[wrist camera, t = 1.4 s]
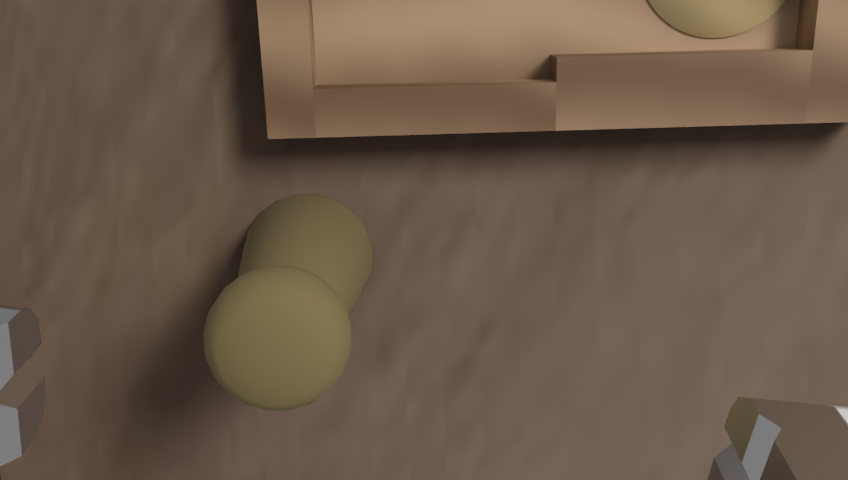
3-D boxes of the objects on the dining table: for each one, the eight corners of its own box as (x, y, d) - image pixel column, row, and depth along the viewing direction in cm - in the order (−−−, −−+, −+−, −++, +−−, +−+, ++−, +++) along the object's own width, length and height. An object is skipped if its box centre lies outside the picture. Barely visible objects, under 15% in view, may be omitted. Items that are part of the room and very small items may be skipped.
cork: (218, 231, 37) (145, 324, 27) (333, 171, 37) (304, 243, 26) (284, 337, 39) (240, 465, 28) (396, 282, 38) (392, 392, 28)
